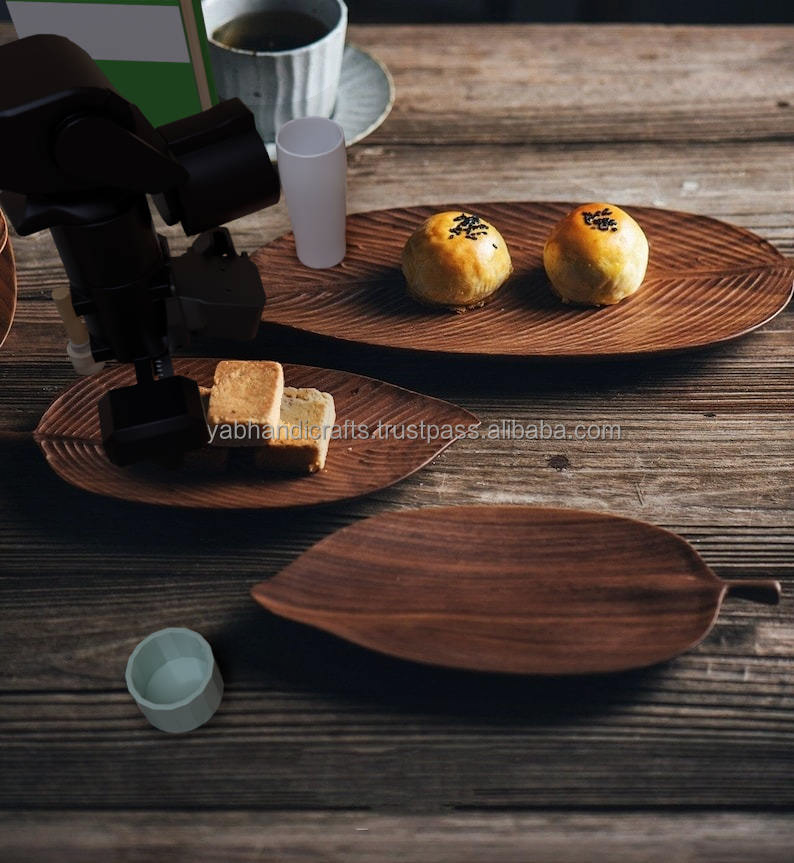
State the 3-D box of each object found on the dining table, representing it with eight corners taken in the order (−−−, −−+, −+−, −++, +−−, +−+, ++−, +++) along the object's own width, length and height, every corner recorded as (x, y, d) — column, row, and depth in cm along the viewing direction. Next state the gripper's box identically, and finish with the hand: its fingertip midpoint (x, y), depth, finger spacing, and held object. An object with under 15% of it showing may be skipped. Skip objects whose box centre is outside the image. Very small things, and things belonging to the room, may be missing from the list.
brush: (78, 382, 90) (45, 308, 82) (73, 360, 91) (41, 286, 84) (109, 373, 90) (79, 299, 82) (103, 352, 92) (74, 277, 84)
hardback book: (227, 143, 113) (189, -60, 94) (214, 181, 108) (172, -25, 89) (85, 138, 114) (20, -65, 95) (67, 175, 110) (-6, -29, 91)
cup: (151, 747, 68) (134, 722, 64) (134, 672, 71) (118, 644, 68) (233, 717, 69) (222, 691, 65) (213, 645, 73) (201, 616, 69)
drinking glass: (324, 226, 103) (312, 106, 91) (366, 255, 100) (359, 134, 88) (277, 255, 100) (259, 135, 88) (319, 286, 97) (306, 166, 85)
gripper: (276, 335, 51) (302, 494, 64) (219, 142, 62) (251, 309, 75) (71, 379, 50) (139, 534, 62) (50, 173, 61) (111, 339, 73)
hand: (166, 418), depth 68 cm, fingers open, 9 cm apart
